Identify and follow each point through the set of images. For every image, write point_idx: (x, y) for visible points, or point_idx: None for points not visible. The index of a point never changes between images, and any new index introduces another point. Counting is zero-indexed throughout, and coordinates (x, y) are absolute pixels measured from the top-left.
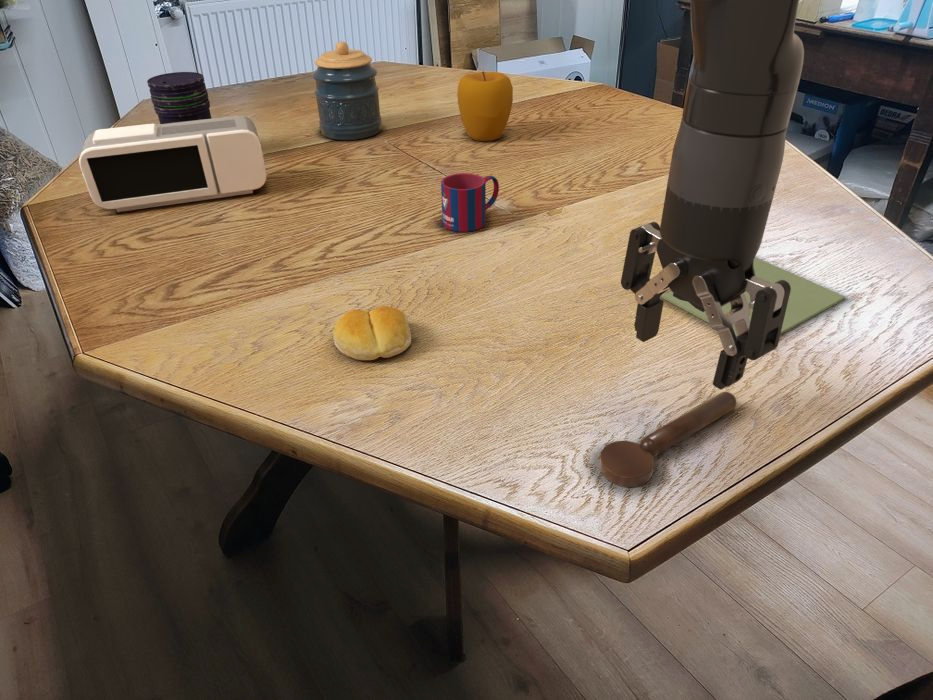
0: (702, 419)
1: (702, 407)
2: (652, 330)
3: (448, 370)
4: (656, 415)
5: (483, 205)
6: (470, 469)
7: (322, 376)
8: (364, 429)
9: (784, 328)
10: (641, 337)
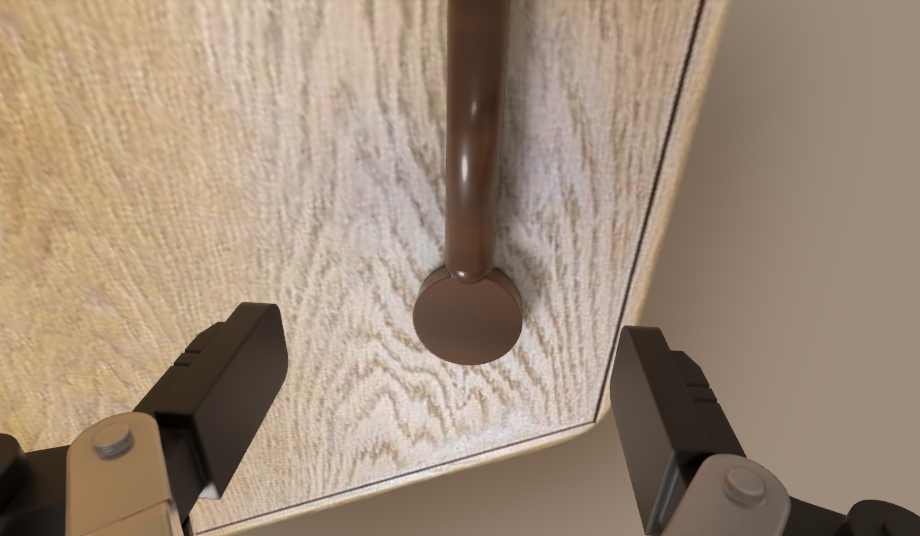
0: (497, 106)
1: (470, 74)
2: (267, 347)
3: (47, 357)
4: (387, 131)
5: None
6: (318, 465)
7: None
8: None
9: None
10: (279, 387)
